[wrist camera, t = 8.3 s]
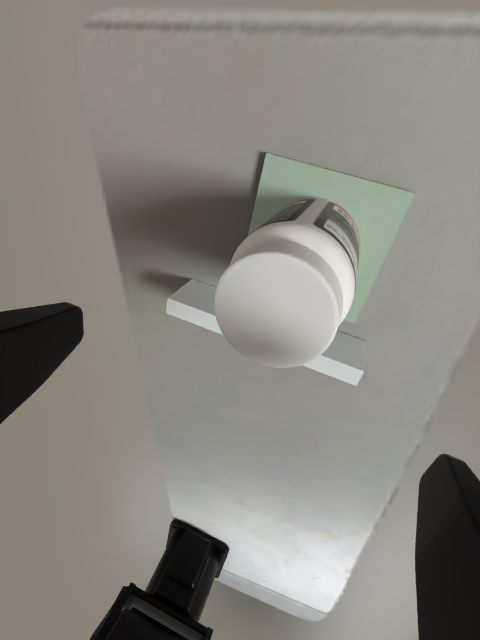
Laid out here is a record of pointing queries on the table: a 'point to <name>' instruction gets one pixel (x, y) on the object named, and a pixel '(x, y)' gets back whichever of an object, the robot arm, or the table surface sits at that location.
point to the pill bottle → (290, 284)
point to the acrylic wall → (335, 361)
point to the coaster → (348, 192)
